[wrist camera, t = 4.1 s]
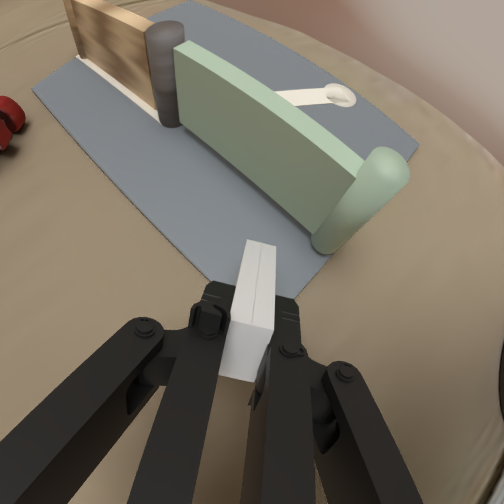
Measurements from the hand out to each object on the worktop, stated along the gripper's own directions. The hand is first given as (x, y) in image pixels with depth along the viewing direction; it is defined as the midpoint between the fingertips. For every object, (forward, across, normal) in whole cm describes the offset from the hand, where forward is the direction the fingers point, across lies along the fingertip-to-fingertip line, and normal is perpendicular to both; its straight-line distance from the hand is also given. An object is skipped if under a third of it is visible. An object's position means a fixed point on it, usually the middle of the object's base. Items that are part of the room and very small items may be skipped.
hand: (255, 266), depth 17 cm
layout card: (+13, -7, +8) cm, 17 cm away
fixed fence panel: (+13, -15, +8) cm, 22 cm away
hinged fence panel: (+7, -1, +3) cm, 8 cm away
